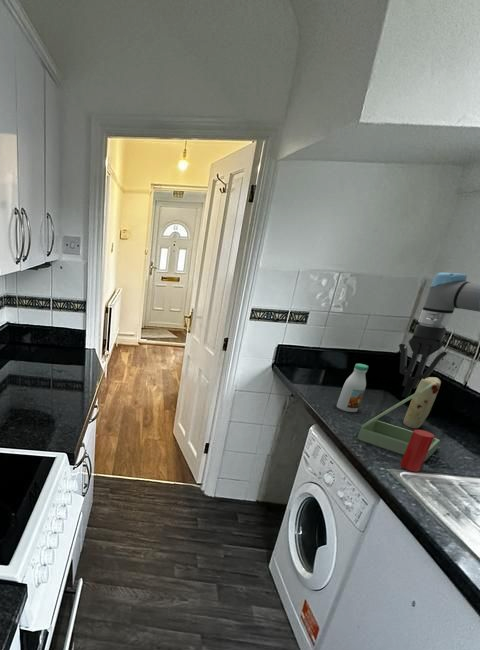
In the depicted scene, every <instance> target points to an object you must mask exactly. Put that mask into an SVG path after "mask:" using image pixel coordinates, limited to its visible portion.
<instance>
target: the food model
mask: <svg viewBox="0 0 480 650" xmlns="http://www.w3.org/2000/svg"><path fill="white" fill-rule="evenodd" d="M429 384H432V385H433V386H431V387H430V388H428V389H426V390H425V391H423V392H422V393H420V394H419V395H417V396H415V397H414V398H412V399H410V402H409V405H408V408H407V410H406V413H405V416H404V419H403V424H404V426H406V427H408V428H410V429H413V430H418V429H419V428H421V427H422V425H423V424H424V422H425V421H426V419H427V417H428V416H429V414H430V412H431V411H432V408H433V405H434V403H435V401H436V398H437V396H438V393H439V390H440V387H441V384H442V381H441V379H440V378H439V377H435V376H428V377H427V378H426V379H420V380H419V382H418V385H417V387H416V388H415V389H416V390H415V392H414V393H416V392H418V391H419V390H421V389H423V388H424V387H426V386H428V385H429Z"/></svg>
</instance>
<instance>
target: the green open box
mask: <svg viewBox="0 0 480 650" xmlns="http://www.w3.org/2000/svg"><path fill="white" fill-rule="evenodd" d="M413 431H414V430H410V429H407V428H403V427H401V426H397V425H394V424H391V423H388V422H384V421H381V420H378V419H377V420H375V421H373V422H372V423H370V424H368V425H367V426H365V427H363V428H360V429H359V433H358V435H357V438H356V440H359V441H361V442H365V443H367V444H370V445H373V446H376V447H379V448H381V449H385V450H387V451H391V452H393V453H397V454H399V455H403V456H404V453H405V451H406V448H407V446H408V443H409V441H410V438H411V436H412V433H413ZM440 441H441V439H438V438H436V437H434V439H433V441H432V443H431V446H430V448H429V450H428V453H427V455H426V458H425V460H424V462H426V461H427V460H428V459H429V458H430V457H431V456H432V455H433V454H434V453H435V452H436V450H437V449H438V446H439V444H440ZM424 462H423V463H424Z"/></svg>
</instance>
